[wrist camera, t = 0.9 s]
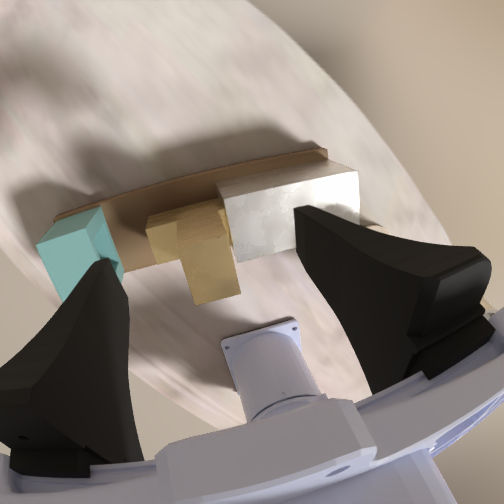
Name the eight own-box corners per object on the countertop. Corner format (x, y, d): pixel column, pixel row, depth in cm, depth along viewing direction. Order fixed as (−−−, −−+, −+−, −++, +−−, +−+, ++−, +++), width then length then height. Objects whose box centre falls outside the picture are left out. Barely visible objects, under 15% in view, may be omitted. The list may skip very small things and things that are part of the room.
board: (328, 214, 27) (333, 219, 26) (83, 278, 24) (80, 284, 23) (321, 147, 24) (327, 149, 23) (57, 215, 21) (53, 219, 20)
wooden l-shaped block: (326, 211, 24) (379, 253, 18) (160, 253, 23) (156, 315, 16) (322, 169, 23) (380, 197, 16) (146, 210, 21) (133, 259, 14)
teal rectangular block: (124, 270, 24) (116, 302, 20) (82, 281, 23) (69, 314, 19) (100, 206, 21) (85, 228, 17) (56, 221, 21) (35, 245, 17)
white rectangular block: (332, 210, 26) (359, 230, 22) (227, 236, 24) (237, 262, 20) (328, 159, 23) (357, 170, 20) (215, 182, 22) (223, 199, 18)
